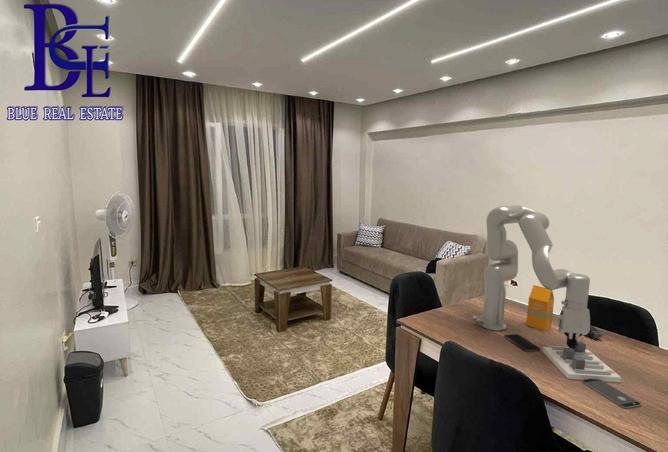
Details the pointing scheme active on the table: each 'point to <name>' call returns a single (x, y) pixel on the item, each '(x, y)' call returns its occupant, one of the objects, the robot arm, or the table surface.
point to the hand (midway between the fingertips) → (571, 347)
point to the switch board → (591, 370)
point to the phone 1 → (522, 343)
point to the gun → (594, 333)
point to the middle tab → (568, 353)
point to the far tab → (580, 346)
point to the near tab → (578, 363)
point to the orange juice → (540, 308)
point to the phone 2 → (611, 393)
